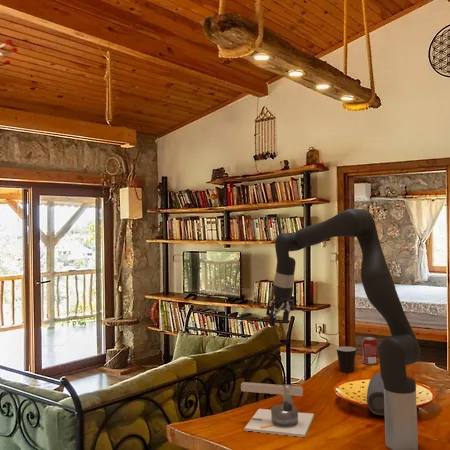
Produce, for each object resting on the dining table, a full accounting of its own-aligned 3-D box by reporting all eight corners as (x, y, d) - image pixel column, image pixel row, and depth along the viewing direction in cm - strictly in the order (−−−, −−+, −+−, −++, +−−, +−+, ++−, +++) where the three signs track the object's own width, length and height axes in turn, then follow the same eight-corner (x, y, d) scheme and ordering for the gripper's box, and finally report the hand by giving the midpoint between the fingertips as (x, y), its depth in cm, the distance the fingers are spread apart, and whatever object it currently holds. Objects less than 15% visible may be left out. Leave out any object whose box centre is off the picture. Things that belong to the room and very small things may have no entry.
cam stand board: (314, 416, 178) (313, 413, 178) (304, 437, 161) (304, 434, 161) (259, 411, 184) (258, 408, 184) (244, 431, 167) (244, 427, 167)
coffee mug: (342, 367, 236) (341, 345, 236) (359, 370, 231) (359, 348, 231) (330, 373, 227) (329, 351, 227) (348, 376, 222) (347, 353, 222)
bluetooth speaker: (394, 420, 172) (393, 391, 172) (366, 417, 175) (365, 389, 175) (394, 397, 194) (394, 371, 194) (369, 395, 197) (368, 370, 197)
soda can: (378, 365, 237) (377, 339, 237) (363, 365, 238) (362, 339, 238) (377, 361, 243) (376, 336, 243) (362, 361, 245) (361, 336, 245)
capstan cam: (305, 417, 173) (304, 382, 173) (300, 427, 165) (299, 391, 165) (246, 411, 180) (245, 378, 180) (239, 421, 172) (237, 386, 171)
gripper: (280, 289, 186) (274, 331, 189) (302, 283, 196) (297, 323, 199) (264, 284, 191) (259, 324, 194) (286, 278, 201) (281, 317, 204)
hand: (278, 323), depth 196 cm, fingers open, 8 cm apart
